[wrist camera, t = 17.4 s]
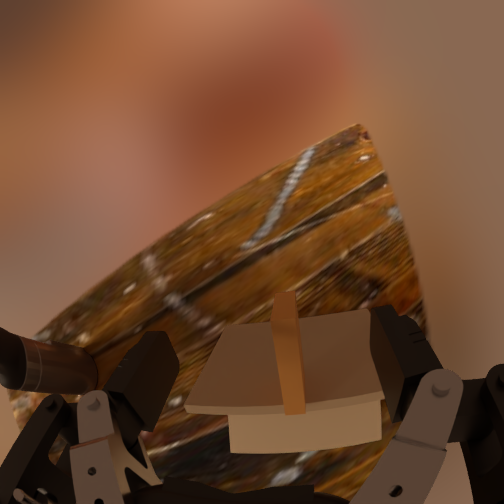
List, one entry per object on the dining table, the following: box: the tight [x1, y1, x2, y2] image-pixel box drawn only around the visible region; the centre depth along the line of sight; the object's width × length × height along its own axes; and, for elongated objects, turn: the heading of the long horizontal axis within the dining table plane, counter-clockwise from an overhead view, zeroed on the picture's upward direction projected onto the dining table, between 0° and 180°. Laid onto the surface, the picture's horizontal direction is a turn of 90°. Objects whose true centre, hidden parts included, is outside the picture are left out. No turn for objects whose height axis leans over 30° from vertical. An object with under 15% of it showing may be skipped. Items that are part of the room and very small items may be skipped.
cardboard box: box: [228, 400, 381, 453], centre depth 30 cm, size 14×16×12 cm
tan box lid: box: [184, 291, 385, 415], centre depth 20 cm, size 14×15×7 cm
